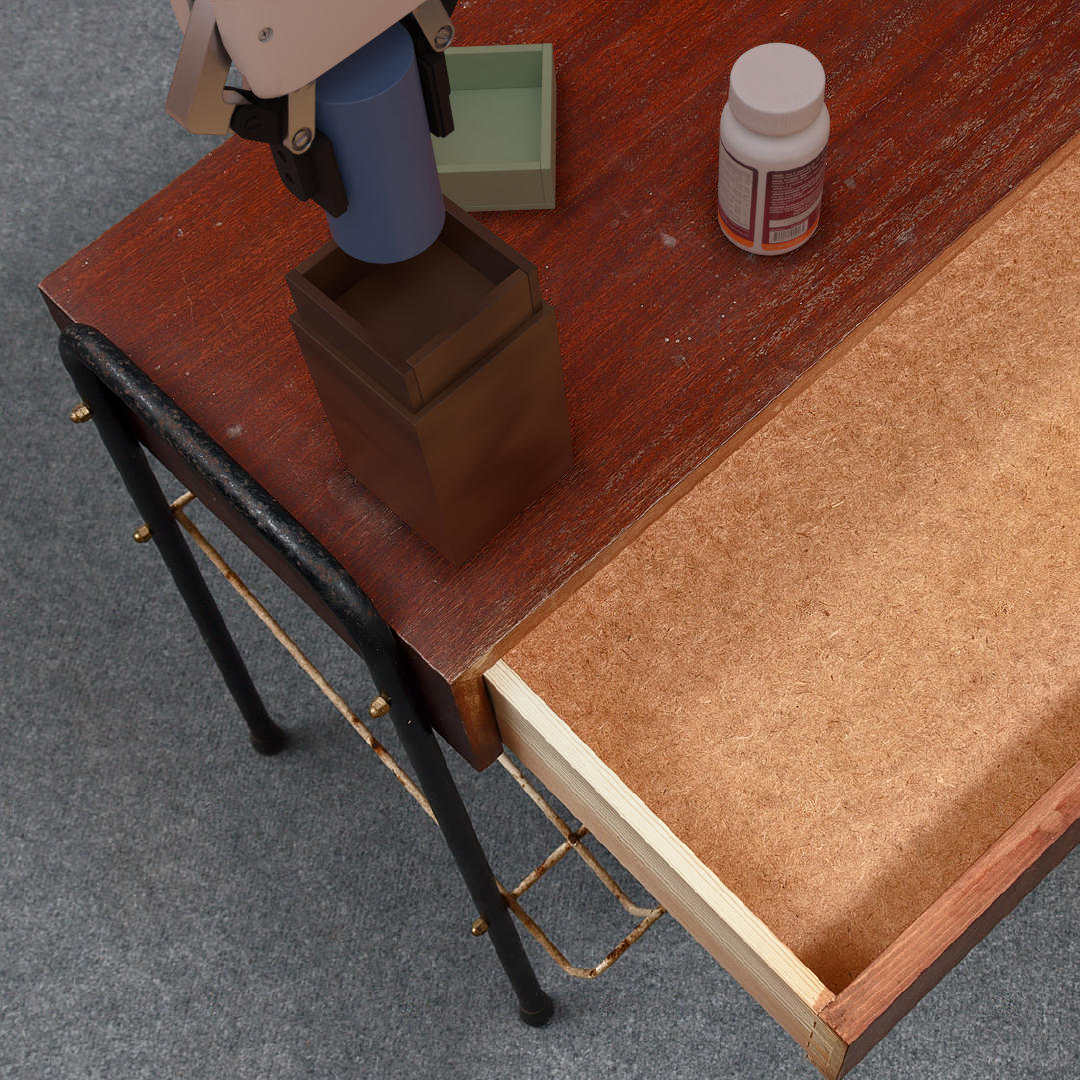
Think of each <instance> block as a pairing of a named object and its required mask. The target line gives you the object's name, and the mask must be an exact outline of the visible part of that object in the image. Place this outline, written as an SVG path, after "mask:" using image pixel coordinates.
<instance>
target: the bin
mask: <svg viewBox="0 0 1080 1080" xmlns="http://www.w3.org/2000/svg"><path fill="white" fill-rule="evenodd" d="M444 54H445V60H446V65H447V71H448V77H449V83H450V89H451V93H450V95H449V98H450V104H451V110H452V116H453V122H454V127H455V130H454V131H453V132H452V133H450V134H449V135H448V136H446V137H445V138H442V137H439V138H438V137H436V136H435V135H433V134H432V133H431V132H430V134H431V139H432V145H433V150H434V155H435V160H436V165H437V170H438V176H439V181H440V186H441V191H442V193H443V194H444V195H445V196H447V197H448V198H449V199H450V200H452V201H453V202H454V203H456V204H457V205H458V206H459V207H461V208H462V209H463V210H465V211H466V212H467V213H471V212H473V213H474V212H499V211H500V212H501V211H502V212H504V211H531V210H554V209H556V177H557V176H556V173H557V170H556V169H557V168H556V166H557V165H556V164H557V88H558V87H557V77H556V67H555V66H556V65H555V56H554V47H553V43H552V42H549V43H547V42H545V43H544V42H543V43H526V44H501V45H500V44H498V45H497V44H496V45H474V46H473V45H472V46H471V45H470V46H449V47H448V48H447V49H446V50H444Z"/></svg>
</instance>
